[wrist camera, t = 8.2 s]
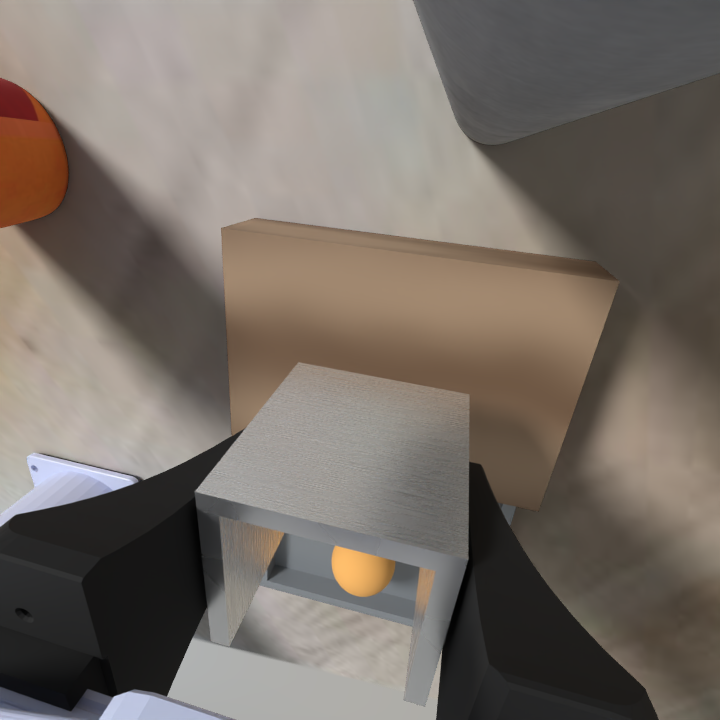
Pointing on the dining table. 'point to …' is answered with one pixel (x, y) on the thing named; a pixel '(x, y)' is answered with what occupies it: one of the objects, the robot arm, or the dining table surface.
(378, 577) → the ball
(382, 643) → the dining table surface
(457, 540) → the grey arch
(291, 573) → the tray
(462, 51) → the hip flask
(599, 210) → the dining table surface
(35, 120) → the coffee cup
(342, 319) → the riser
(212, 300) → the dining table surface
